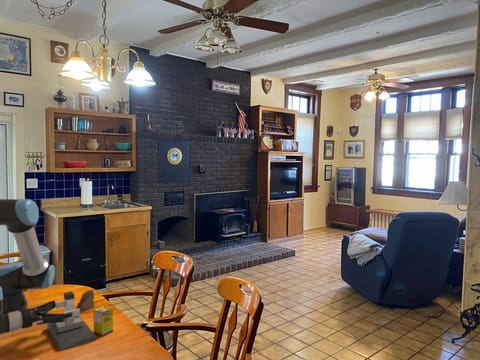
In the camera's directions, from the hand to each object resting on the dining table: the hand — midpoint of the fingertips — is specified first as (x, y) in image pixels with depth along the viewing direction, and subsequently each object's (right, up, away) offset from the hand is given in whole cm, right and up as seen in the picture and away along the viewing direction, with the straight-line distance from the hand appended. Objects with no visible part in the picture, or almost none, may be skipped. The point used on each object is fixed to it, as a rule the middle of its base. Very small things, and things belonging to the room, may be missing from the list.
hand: (75, 306), depth 162 cm
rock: (-6, -10, +24) cm, 27 cm away
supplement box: (+13, -11, -1) cm, 17 cm away
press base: (-1, -11, -3) cm, 11 cm away
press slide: (-2, -9, -1) cm, 9 cm away
